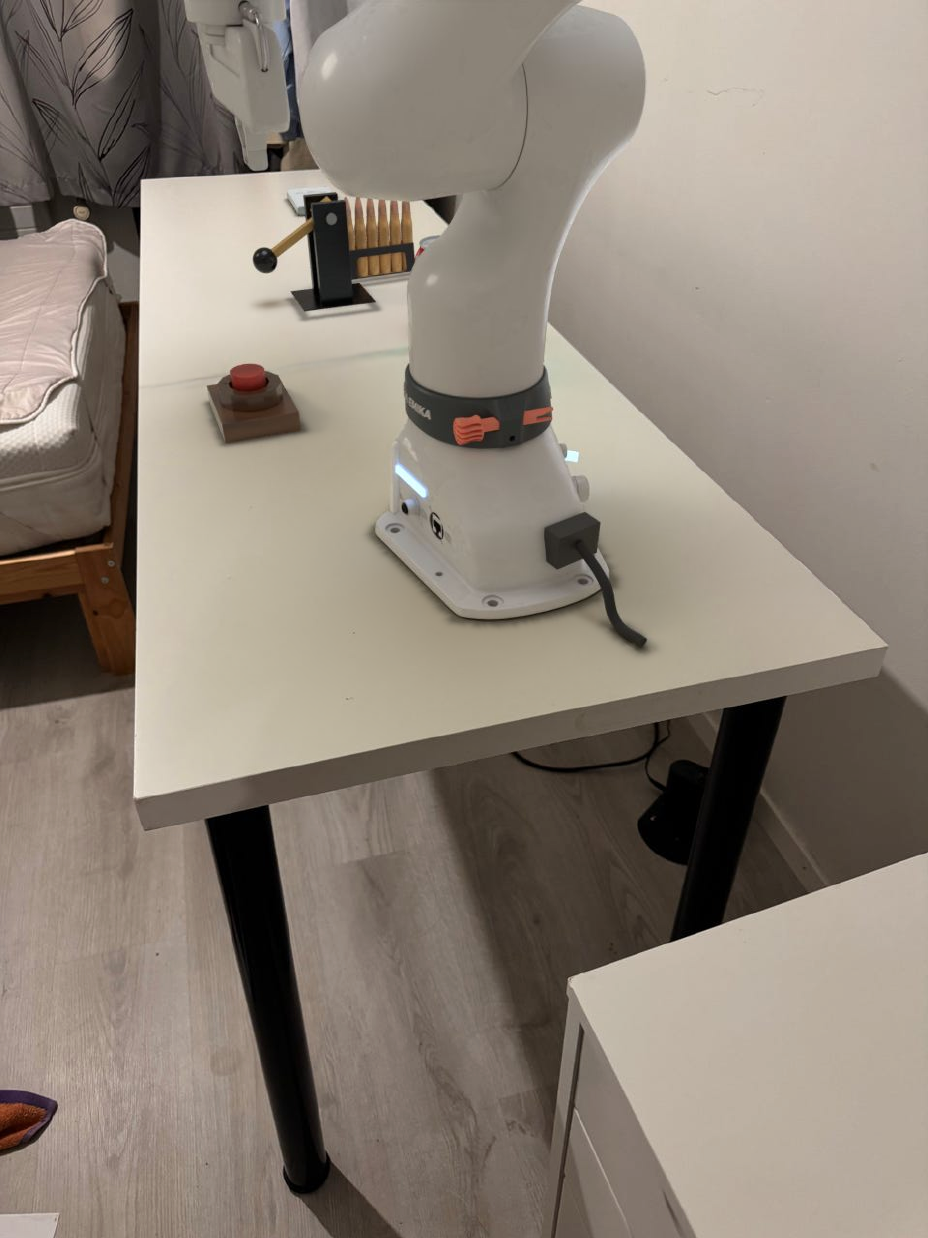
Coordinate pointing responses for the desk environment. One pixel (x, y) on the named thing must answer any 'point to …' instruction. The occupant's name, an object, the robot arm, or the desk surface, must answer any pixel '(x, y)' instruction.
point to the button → (248, 377)
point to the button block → (253, 409)
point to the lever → (280, 247)
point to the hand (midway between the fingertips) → (256, 167)
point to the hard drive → (297, 196)
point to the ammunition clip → (380, 240)
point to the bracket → (329, 257)
